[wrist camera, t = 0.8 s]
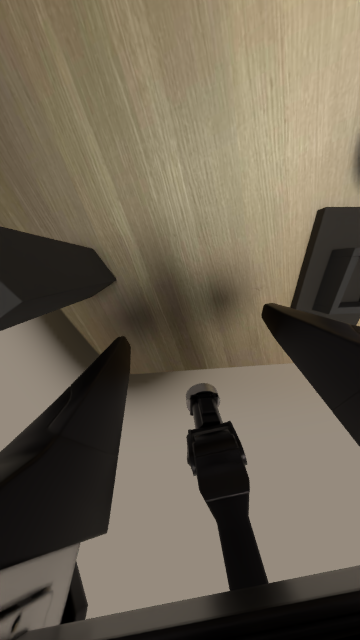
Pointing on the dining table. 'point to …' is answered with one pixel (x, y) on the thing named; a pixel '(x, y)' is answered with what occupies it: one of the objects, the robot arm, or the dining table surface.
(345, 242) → the base pad
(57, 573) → the robot arm
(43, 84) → the dining table surface
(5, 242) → the pad block
